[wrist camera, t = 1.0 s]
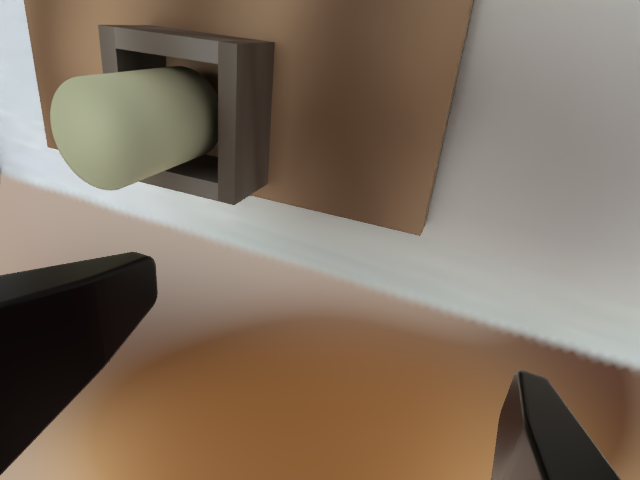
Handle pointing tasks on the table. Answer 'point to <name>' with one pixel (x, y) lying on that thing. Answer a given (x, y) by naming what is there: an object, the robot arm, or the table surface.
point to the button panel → (284, 91)
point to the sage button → (133, 123)
